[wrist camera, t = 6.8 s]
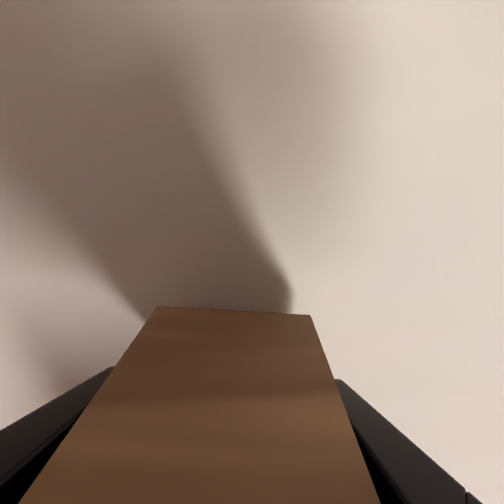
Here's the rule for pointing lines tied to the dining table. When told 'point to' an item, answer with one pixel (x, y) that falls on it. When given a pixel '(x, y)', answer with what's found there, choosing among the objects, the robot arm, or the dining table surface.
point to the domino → (212, 420)
